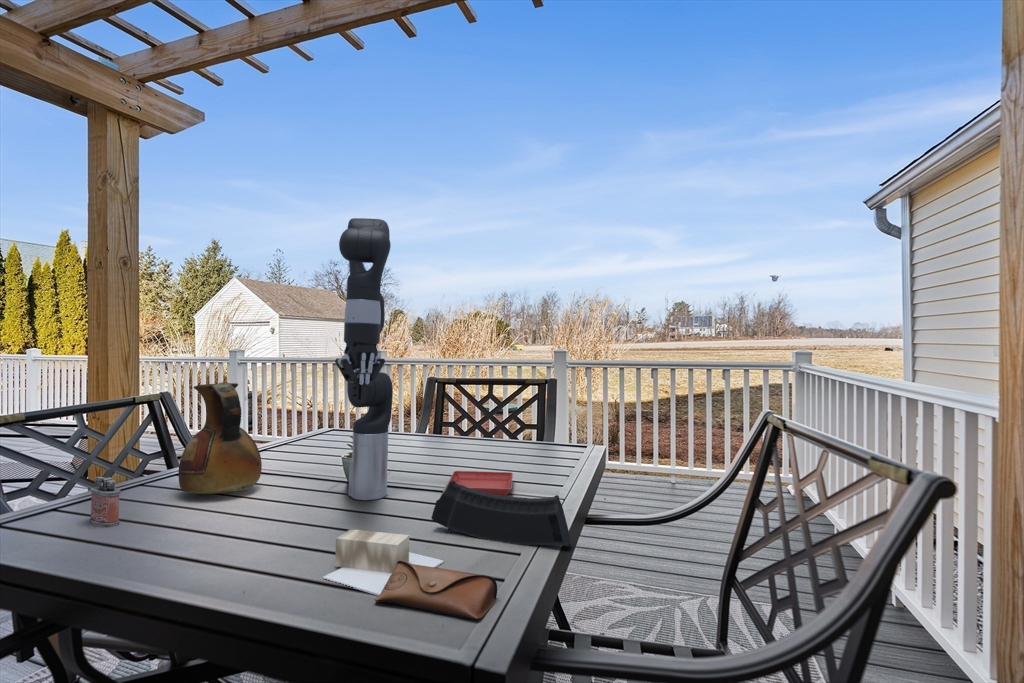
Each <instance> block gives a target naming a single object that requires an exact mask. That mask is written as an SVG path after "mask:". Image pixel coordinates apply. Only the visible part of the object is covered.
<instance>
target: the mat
mask: <svg viewBox="0 0 1024 683" xmlns="http://www.w3.org/2000/svg"><path fill="white" fill-rule="evenodd" d="M409 563H411V564H415V565H422V566H429V567H436V568H438V567H439V566H440V564H441V565H442V564H444V563H445V560H442V559H438V558H435V557H431V556H426V555H421V554H419V553H414V552H410V551H409ZM391 574H392V573H386V572H378V571H369V570H361V569H353V568H345V567H339V568H338V569H337V570H334V571H332V572H330V573H328V574H326V575H324V576H322V579H323V580H325V579H327V580H326V581H328V580H330V581H329V582H332V581H333V583H335V582H337V583H336V584H338V583H341V584H340V585H342V584H344V585H343V586H345V585H347V586H346V587H348V586H350V587H349V588H351V587H353V588H352V589H355V590H359V591H361V592H365V593H369V594H371V595H375V596H377V597H378V596H379V595H380V594H381V592H382V590H383V588H384V586H385V585H386V583H387V581H388V579H389V577H390V576H391Z"/></svg>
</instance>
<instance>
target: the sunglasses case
mask: <svg viewBox="0 0 1024 683" xmlns="http://www.w3.org/2000/svg"><path fill="white" fill-rule="evenodd" d="M497 595H498V583H497V580H496V579H495V578H494V577H492V576H490V575H486V574H473V573H467V572H463V571H456V570H452V569H447V568H440V567H436V568H435V567H429V566H422V565H415V564H411V563H408V562H405V561H398V562H397V565H396V567H395V569H394V570H393V572H392V574H391V576H390V577H389V579H388V581H387V583H386V585H385V586H384V588H383V590H382V592H381V594H380V595H379V596H378V595H377V597H375V598H374V601H375V602H378V603H379V602H380V603H390V604H396V605H401V606H405V607H409V608H410V607H411V608H415V609H419V610H420V609H421V610H425V611H428V612H433V613H437V614H440V615H446V616H451V617H458V618H464V619H473V620H474V619H475V620H480V619H482V618H483V617H484V616H486V615H487V613H488V612H489V611H490V610H491V609H492V607H493V605H495V603H496V600H497Z"/></svg>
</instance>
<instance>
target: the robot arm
mask: <svg viewBox="0 0 1024 683" xmlns="http://www.w3.org/2000/svg"><path fill="white" fill-rule="evenodd" d="M347 224H348V225H347V229H344V231H343V232H342V233H341V235H340V237H339V240H338V242H339V243H338V247H339V248H338V249H339V252H340V254H341V256H342V258H343V259H345V260H346V261H348V264H349V275H348V276H347V280H346V299H345V300H346V302H345V308H344V320H343V323H344V326H343V343H345V344H346V346H345V349H344V351H343V352H344V354H343V355H342V356H341V357H340V358H336V359H334V363H335V365H336V367H337V368H338V370H339V371H340V373H341V375H342V376H343V378H344V380H345V382H346V383H347V384H346V386H347V387H346V390H347V391H346V392H347V398H348V401H349V403H350V405H351V406H352V407H354V408H368V410H367V412H366V413H365V414H364V415H363V416H361V417H359V418H358V419H356V420H355V421H354V422H353V424H352V456H351V459H350V460H349V462H348V464H349V465H348V468H349V469H348V496H349V497H351V498H352V499H353V500H359V501H372V500H373V501H374V500H379V499H383V498H385V497H387V494H388V457H389V453H388V452H389V449H388V448H389V425H390V423H391V420H392V409H393V398H394V397H393V396H394V390H393V381H392V379H391V377H390V376H389V374H387V373H386V372H381V370H382V369H383V367H384V365H385V363H386V360H385V358H381V357H380V356H379V355H378V354H379V351H378V347H377V345H378V344H380V343H381V334H382V331H383V329H384V327H385V319H386V318H385V316H386V315H385V312H386V311H385V299H384V297H383V294H382V293H381V288H382V287H381V286H382V285H381V284H382V279H383V278H382V277H383V274H384V269H385V266H386V263H387V260H388V257H389V254H390V252H391V246H392V245H391V240H390V238H391V237H390V234H391V233H390V226H389V224H388V222H386V221H385V220H383V219H380V218H367V217H366V218H364V217H363V218H362V217H360V218H358V217H356V218H354V217H353V218H351V219H349V220H348V223H347ZM363 263H365V264H366V263H368V264H369V263H370V264H372V266H371V267H370V268H369V269H368V270H367V269H366V268H365V265H364V264H363Z"/></svg>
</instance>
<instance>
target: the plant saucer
mask: <svg viewBox="0 0 1024 683" xmlns="http://www.w3.org/2000/svg"><path fill="white" fill-rule="evenodd" d="M513 475H514V473H513V472H510V471H509V472H505V471H504V472H502V471H501V472H500V471H471V470H454V471H453V473H452V474H451V476H450V478H449V480H448V481H447V484H449V482H450V481H452V480H454V481H455V483H456V484H459V485H463V486H465V487H468V488H471V489H474V490H477V491H481V492H485V493H490V494H495V495H500V496H508V494H510V492H511V491H512V489H513V479H514V478H513V477H514V476H513ZM447 484H446V485H447Z"/></svg>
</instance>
